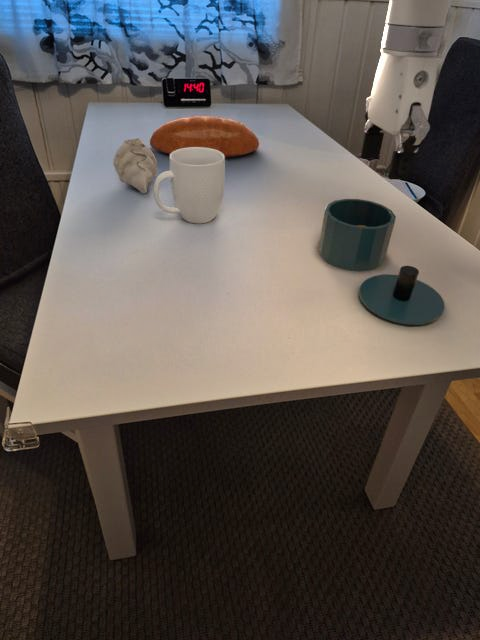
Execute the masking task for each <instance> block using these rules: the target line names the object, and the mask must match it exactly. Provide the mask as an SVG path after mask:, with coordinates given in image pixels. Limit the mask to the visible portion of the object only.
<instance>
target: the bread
mask: <svg viewBox="0 0 480 640" xmlns="http://www.w3.org/2000/svg"><path fill="white" fill-rule="evenodd" d="M149 146H150V147H151V148H152V149H155V150H156V151H159V152H162V153H165V154H168V155H170V154H171V153H172V152H173V151H175V150H178V149H182V148H188V147H205V148H211V149H215V150H218V151H220V152H221V153H223V154H224V156H225V158H231V157H232V158H233V157H238V156H243V155H247V154H249V153H252V152H254V151H256V150H257V149H258V148H259V146H260V141H259V138H258V137H257V135H256V134H255V133H254V132H253V131H252V130H251V129H250V128H249V127H248V126H246V125H245V124H244V123H242V122H240V121H236V120H234V119H229V118H223V117H219V116H213V115H212V116H210V115H207V116H206V115H205V116H203V115H194V116H189V117H181V118H177V119H174V120H170V121H167V122H165V123H163V124H162V125H161V126H158V128H157V129H155V131H153V133H152V135H151V137H150V139H149Z"/></svg>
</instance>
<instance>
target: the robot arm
mask: <svg viewBox="0 0 480 640" xmlns="http://www.w3.org/2000/svg"><path fill="white" fill-rule="evenodd" d="M451 2H452V0H389V3H388V8H387V14H386V18H385V24H384V29H383V34H382V40H381V45H380V50H379V52H380V53H381V55H380V57H379V60H378V64H377V68H376V71H375V75H374V80H373V84H372V89H371V93H370V96H369V97H367V98H366V100H365V113H364V121H365V124H364V126H363V131H364V134H363V139H362V145H361V150H360V155H359V156H360V158H361V159H362V160H367V159H368V160H369V159H378V158H380V154H381V150H382V146H383V140H384V136H385V133H384V132H383V131H385V132H386V133H388V134H390V135H393V136H394V141H395V148H396V149H395V150H393V151H392V155H391V158H390V159H391V160H390V164H389V167H388V173H387V178H388V179H389V180H391V181H392V180H406V179H408V178H409V177H410V173H411V169H412V165H413V162H414V157H415V153H418V152H419V147H421V146H422V145H423V144H424V140H425V138H426V136H427V134H428V133H429V131H430V130H431V125H430V122H429V121H428V120H429V115H430V110H431V107H432V102H433V97H434V92H435V87H436V81H437V74H438V73H437V71H438V60H439V59H438V56H437V55H438V52H439V49H440V44H441V41H442V36H443V34H444V33H443V32H444V29H445V25H446V21H447V17H448V13H449V9H450V5H451ZM404 137H407V139H406V140H404Z"/></svg>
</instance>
